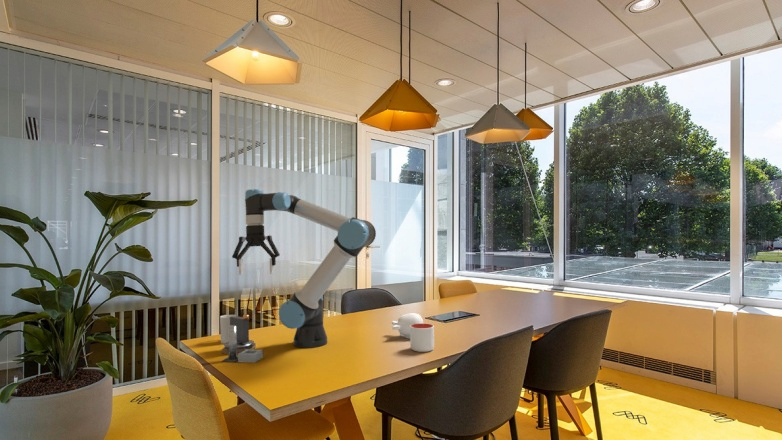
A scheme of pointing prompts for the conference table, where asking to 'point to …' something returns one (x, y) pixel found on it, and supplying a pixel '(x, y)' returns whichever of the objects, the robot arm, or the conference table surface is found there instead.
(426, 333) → the cup
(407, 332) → the piggy bank
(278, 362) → the conference table surface
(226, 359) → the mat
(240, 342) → the lever on round base
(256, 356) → the eye block
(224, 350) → the plinth
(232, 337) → the rod
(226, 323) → the mug
